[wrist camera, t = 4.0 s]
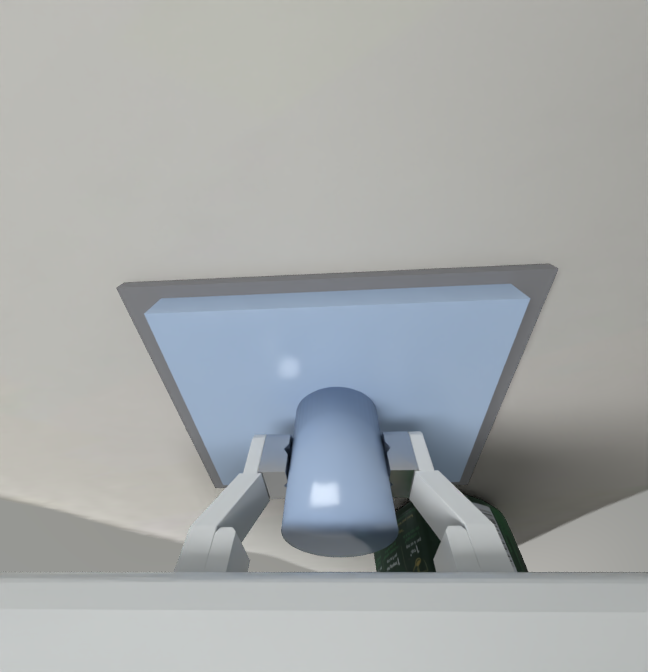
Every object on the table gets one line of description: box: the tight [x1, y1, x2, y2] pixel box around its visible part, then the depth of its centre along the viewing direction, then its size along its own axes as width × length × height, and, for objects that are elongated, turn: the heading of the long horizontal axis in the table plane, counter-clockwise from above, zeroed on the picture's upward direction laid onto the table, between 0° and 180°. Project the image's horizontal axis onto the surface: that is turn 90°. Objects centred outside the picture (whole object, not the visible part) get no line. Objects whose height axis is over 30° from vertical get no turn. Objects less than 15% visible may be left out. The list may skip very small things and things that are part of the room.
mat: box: [117, 264, 558, 488], centre depth 14 cm, size 14×16×1 cm
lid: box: [144, 284, 530, 557], centre depth 11 cm, size 11×13×6 cm
